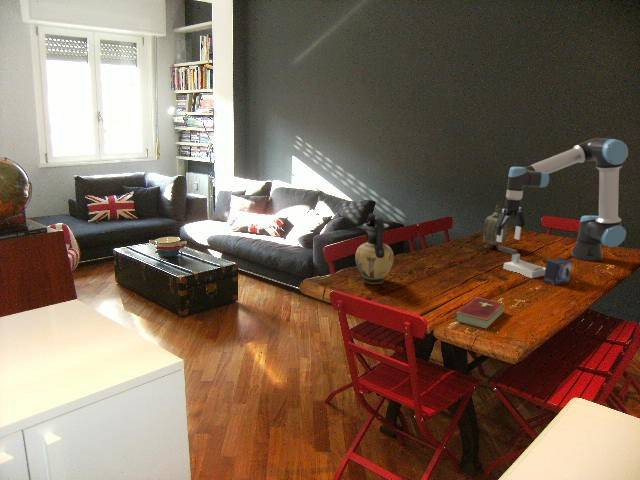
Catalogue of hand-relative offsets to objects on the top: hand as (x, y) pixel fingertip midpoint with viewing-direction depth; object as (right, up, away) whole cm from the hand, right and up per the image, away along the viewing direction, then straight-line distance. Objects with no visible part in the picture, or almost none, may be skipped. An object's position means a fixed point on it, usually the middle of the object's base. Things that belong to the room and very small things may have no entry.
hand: (508, 240), depth 268 cm
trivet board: (+6, -15, -6) cm, 18 cm away
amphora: (-70, -18, -27) cm, 78 cm away
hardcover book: (-33, -29, -64) cm, 78 cm away
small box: (+15, -19, -20) cm, 32 cm away
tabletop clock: (+5, -4, +37) cm, 38 cm away
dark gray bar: (+4, -11, -3) cm, 12 cm away
